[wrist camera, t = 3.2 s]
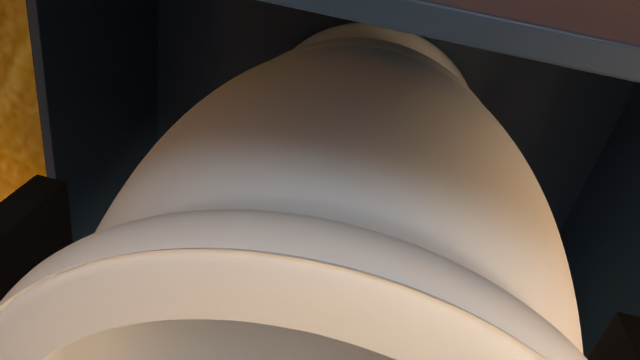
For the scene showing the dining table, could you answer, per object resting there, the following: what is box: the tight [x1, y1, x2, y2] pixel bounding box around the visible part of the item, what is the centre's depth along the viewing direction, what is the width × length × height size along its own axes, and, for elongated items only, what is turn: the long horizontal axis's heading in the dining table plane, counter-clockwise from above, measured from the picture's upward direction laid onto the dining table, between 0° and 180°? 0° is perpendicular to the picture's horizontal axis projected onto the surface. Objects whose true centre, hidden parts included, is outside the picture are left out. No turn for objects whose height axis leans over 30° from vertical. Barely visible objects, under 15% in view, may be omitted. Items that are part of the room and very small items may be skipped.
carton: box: [26, 0, 640, 358], centre depth 14 cm, size 18×16×15 cm
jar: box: [0, 23, 588, 360], centre depth 14 cm, size 11×10×15 cm
